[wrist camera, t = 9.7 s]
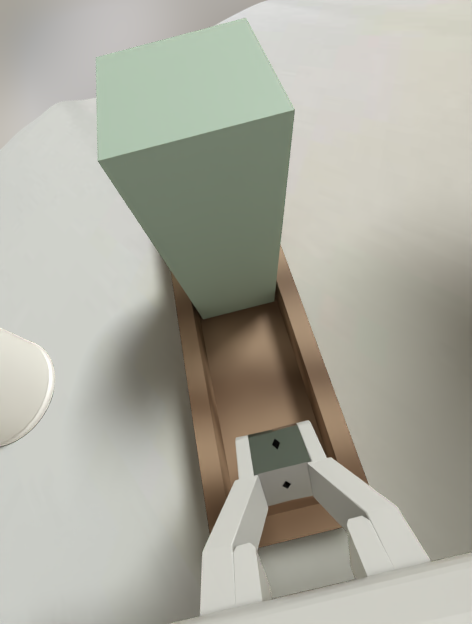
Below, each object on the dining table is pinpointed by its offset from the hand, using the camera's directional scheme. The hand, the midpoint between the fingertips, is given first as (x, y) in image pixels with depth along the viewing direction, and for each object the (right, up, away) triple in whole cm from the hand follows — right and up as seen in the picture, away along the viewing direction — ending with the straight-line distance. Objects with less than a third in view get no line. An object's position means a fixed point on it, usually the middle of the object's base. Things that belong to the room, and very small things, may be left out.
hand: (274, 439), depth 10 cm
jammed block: (-2, +8, +12) cm, 14 cm away
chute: (-1, +5, +12) cm, 13 cm away
